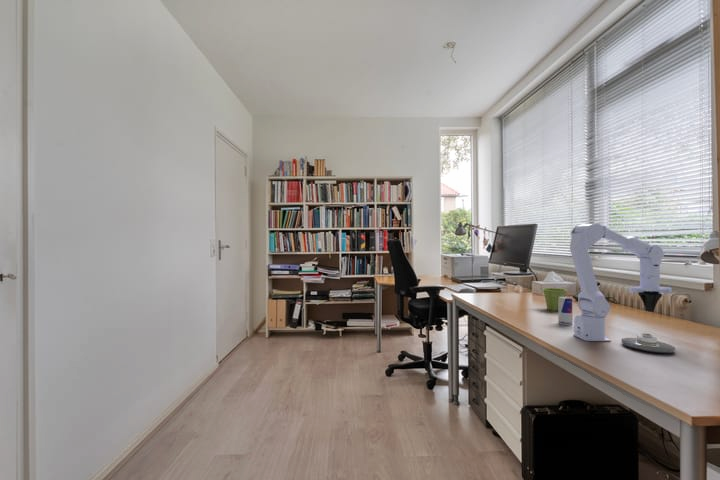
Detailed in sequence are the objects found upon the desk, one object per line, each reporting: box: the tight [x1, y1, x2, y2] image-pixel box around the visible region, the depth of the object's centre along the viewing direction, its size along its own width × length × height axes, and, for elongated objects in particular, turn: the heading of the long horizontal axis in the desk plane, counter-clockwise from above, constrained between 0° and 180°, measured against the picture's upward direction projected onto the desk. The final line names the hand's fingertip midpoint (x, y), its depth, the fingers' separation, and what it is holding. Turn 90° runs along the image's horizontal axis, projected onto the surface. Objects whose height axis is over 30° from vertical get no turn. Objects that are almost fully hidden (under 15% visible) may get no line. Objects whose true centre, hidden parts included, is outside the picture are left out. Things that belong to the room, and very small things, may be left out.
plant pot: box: [542, 287, 568, 312], centre depth 177 cm, size 12×12×11 cm
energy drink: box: [557, 296, 573, 326], centre depth 147 cm, size 5×5×12 cm
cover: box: [636, 333, 658, 346], centre depth 113 cm, size 5×5×3 cm
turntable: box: [620, 337, 676, 354], centre depth 113 cm, size 14×14×2 cm
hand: (649, 311), depth 125 cm, fingers closed
